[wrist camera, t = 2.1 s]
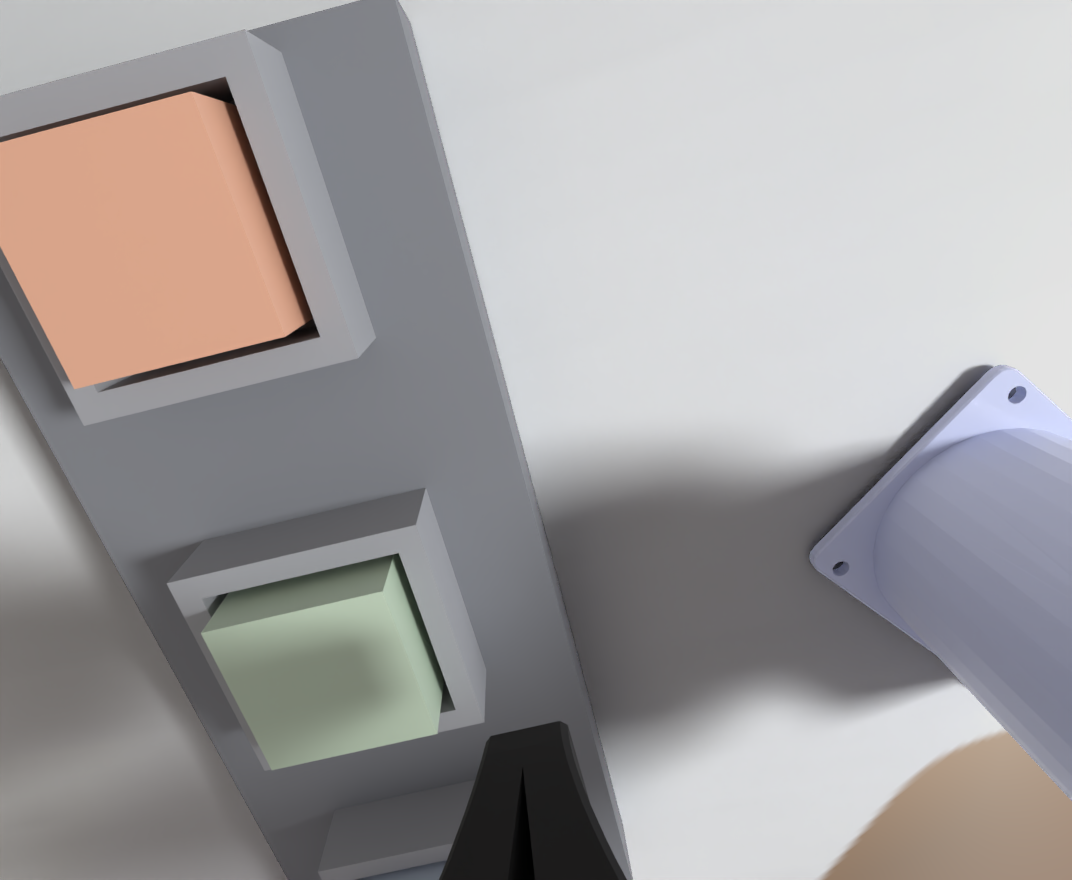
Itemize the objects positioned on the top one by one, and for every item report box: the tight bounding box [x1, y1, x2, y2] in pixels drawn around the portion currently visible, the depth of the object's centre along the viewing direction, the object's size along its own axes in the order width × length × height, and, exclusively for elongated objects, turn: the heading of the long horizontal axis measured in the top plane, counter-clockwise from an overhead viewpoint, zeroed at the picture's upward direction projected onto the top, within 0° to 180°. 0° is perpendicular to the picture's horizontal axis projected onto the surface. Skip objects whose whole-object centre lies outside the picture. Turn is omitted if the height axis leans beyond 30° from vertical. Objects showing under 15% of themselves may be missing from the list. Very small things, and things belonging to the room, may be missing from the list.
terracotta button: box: [0, 91, 313, 389], centre depth 13 cm, size 4×4×2 cm
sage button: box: [201, 553, 444, 770], centre depth 16 cm, size 4×4×2 cm
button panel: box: [0, 0, 633, 880], centre depth 18 cm, size 27×11×4 cm, turn 13°
